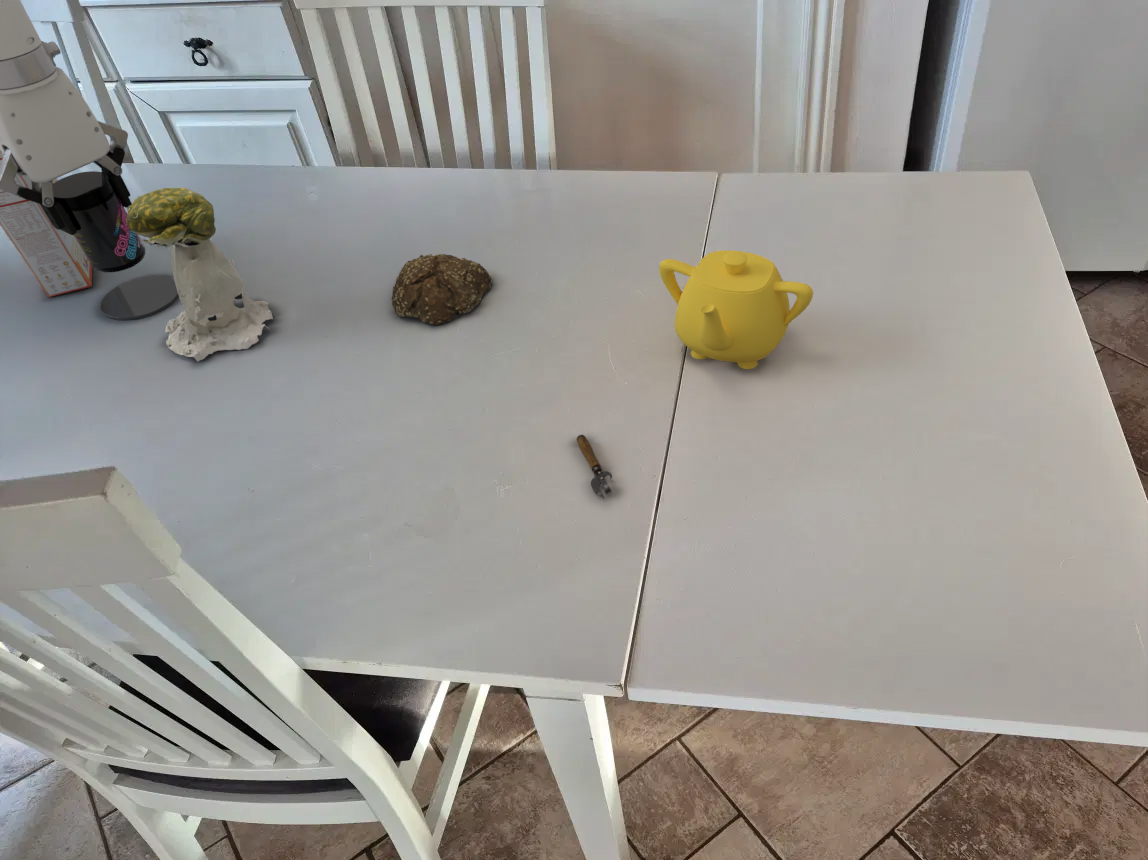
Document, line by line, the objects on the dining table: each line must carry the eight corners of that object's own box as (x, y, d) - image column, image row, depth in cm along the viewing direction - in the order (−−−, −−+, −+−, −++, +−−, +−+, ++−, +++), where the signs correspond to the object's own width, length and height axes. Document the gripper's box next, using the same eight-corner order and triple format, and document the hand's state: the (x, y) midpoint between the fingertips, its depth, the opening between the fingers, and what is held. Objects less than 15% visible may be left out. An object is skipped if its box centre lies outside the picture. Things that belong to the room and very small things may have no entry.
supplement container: (119, 279, 105) (76, 201, 98) (80, 269, 107) (34, 192, 100) (159, 251, 110) (120, 175, 102) (121, 242, 112) (80, 167, 104)
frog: (166, 318, 109) (93, 185, 96) (267, 291, 112) (210, 159, 99) (171, 369, 102) (93, 232, 88) (279, 338, 105) (219, 202, 92)
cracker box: (51, 250, 122) (-39, 105, 107) (95, 240, 124) (13, 96, 109) (45, 300, 113) (-54, 149, 98) (93, 288, 115) (2, 138, 100)
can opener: (576, 442, 90) (575, 434, 89) (597, 438, 90) (596, 430, 89) (596, 502, 84) (595, 495, 83) (618, 497, 84) (618, 489, 83)
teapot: (649, 332, 103) (645, 245, 94) (750, 300, 107) (755, 214, 98) (702, 397, 94) (703, 308, 86) (810, 360, 98) (822, 271, 89)
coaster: (129, 328, 108) (128, 326, 108) (86, 305, 112) (85, 303, 112) (196, 290, 113) (194, 288, 113) (152, 270, 118) (151, 267, 117)
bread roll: (414, 267, 115) (405, 234, 112) (499, 274, 113) (493, 241, 110) (375, 321, 107) (365, 288, 103) (467, 330, 105) (459, 296, 101)
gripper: (69, 36, 98) (141, 181, 111) (-86, 89, 88) (13, 241, 101) (106, 47, 95) (175, 195, 108) (-51, 103, 85) (46, 258, 98)
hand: (96, 216), depth 104 cm, fingers closed on supplement container, 6 cm apart
